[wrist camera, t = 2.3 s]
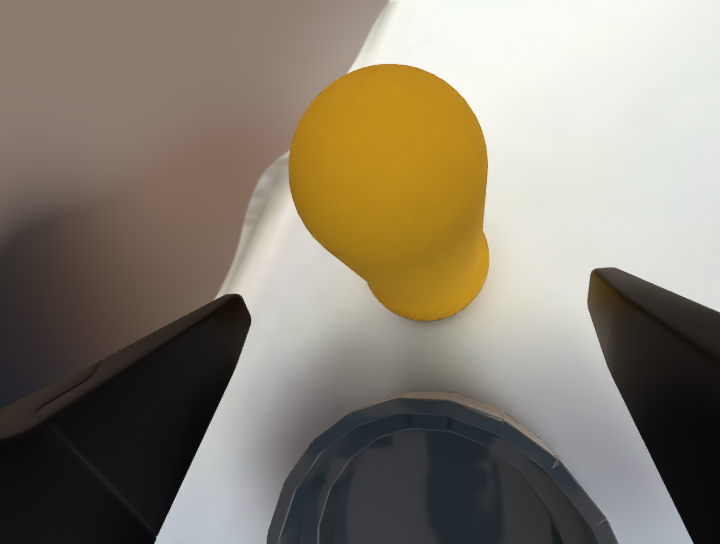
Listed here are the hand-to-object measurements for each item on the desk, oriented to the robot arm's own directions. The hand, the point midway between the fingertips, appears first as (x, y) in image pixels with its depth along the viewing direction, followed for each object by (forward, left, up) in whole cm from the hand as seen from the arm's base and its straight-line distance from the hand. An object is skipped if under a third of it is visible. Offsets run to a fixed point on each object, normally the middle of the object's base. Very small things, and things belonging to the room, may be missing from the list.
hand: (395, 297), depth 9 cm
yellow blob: (+3, +1, -10) cm, 11 cm away
